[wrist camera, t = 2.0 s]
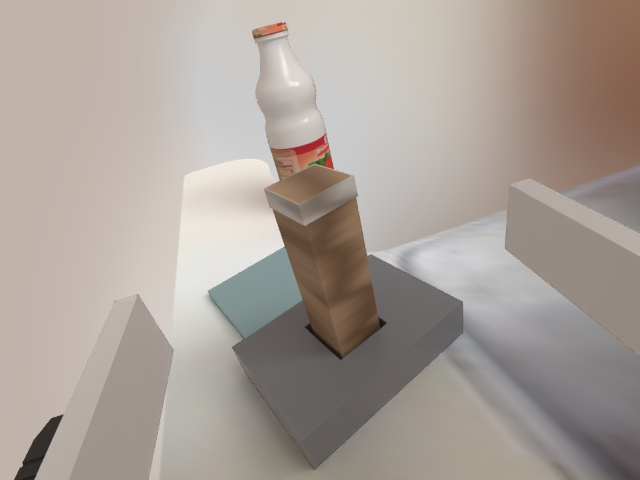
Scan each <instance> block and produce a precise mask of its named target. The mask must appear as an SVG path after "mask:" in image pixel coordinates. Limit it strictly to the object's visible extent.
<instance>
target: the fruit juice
mask: <svg viewBox="0 0 640 480" xmlns="http://www.w3.org/2000/svg"><path fill="white" fill-rule="evenodd" d="M252 33H253V38H254V40H255V43H257V44H258V47H259V52H260V77H259V80H258V83H257V86H256V99H257V103H258V105H259V107H260V109H261V111H262V112H263V114H264V116H265V119H266V126H265V130H266V135H267V139H268V143H269V146H270V149H271V152H272V155H273V159H274V162H275V165H276V169H277V172H278V175H279V179H280V181H281V180H283V179H285V178H287V177H289V176H291V175H293V174H295V173H297V172H299V171H301V170H303V169H305V168H307V167H310V166H312V165H314V164H317V165H320V166H324V167H327V168H330V169H334V168H333V163H332V158H331V154H330V149H329V144H328V140H327V134H326V129H325V125H324V121H323V118H322V115H321V113H320V111H319V110H318V108H317V106H316V87H315V84H314V80H313V78H312V76H311V75H310V74H309V73H308V72H307V71H306V70H305V69H304V68H303V67H302V66H301V65H300V64H299V63H298V61H297V59H296V57H295V55H294V54H293V52H292V50H291V48H290V45H289V42H288V39H287V36H288V28H287V25H286V23H285V22H281V23H277V24H273V25H269V26H265V27H262V28H258V29H255V30H253V31H252Z"/></svg>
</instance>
